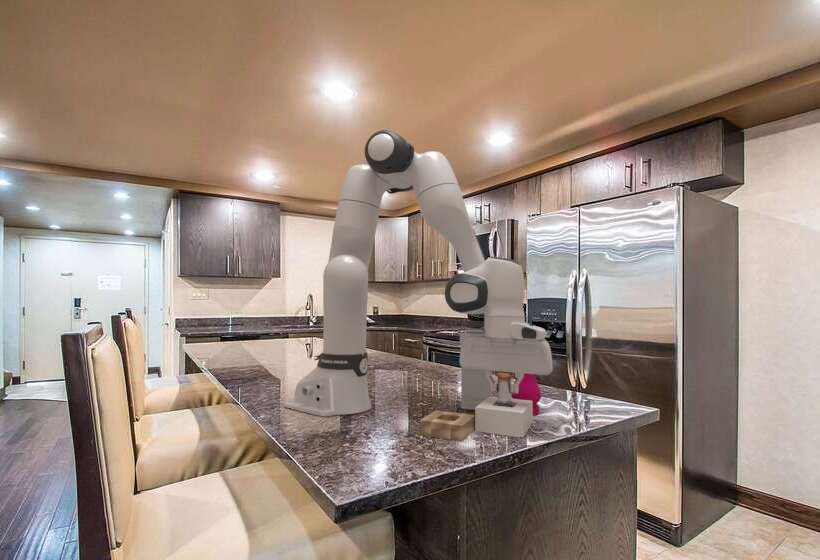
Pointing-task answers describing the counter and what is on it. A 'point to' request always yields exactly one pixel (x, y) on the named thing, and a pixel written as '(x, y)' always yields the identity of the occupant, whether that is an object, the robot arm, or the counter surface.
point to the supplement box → (473, 388)
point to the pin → (504, 388)
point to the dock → (504, 417)
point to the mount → (447, 425)
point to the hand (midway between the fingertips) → (504, 392)
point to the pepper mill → (529, 391)
